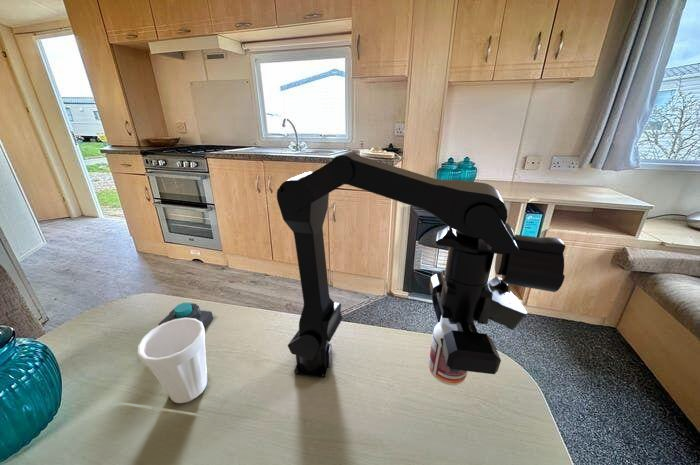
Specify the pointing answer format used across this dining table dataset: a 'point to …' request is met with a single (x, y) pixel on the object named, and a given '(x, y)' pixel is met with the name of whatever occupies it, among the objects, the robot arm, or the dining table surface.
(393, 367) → the dining table surface
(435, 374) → the pill bottle
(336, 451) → the dining table surface
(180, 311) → the dispenser button
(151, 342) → the cup
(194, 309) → the dispenser
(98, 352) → the dining table surface
